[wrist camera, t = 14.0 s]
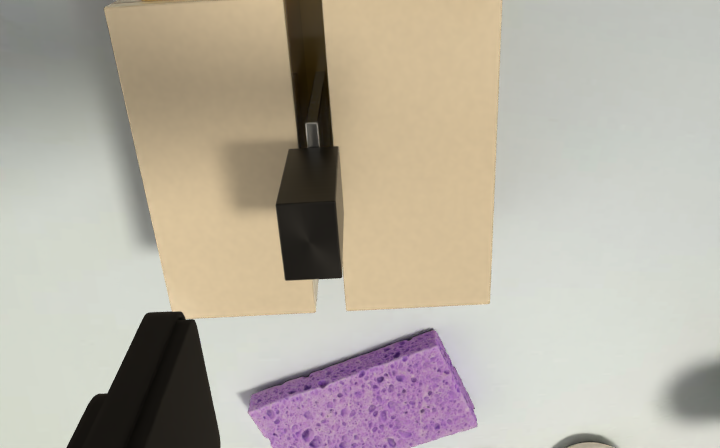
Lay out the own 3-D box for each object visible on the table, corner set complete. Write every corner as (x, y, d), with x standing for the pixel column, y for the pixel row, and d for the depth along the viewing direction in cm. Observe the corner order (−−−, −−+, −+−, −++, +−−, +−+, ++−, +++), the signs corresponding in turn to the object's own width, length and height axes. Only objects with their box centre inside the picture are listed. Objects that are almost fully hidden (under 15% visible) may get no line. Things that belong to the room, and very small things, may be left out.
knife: (299, 72, 33) (271, 176, 22) (340, 70, 33) (333, 172, 22) (309, 167, 35) (287, 305, 24) (347, 165, 35) (343, 302, 24)
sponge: (250, 390, 43) (246, 411, 41) (437, 326, 40) (440, 345, 39) (298, 463, 46) (296, 486, 44) (475, 407, 43) (480, 428, 42)
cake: (135, -44, 31) (77, -20, 24) (488, -65, 30) (524, -47, 24) (195, 258, 38) (162, 338, 32) (478, 244, 38) (504, 321, 31)
